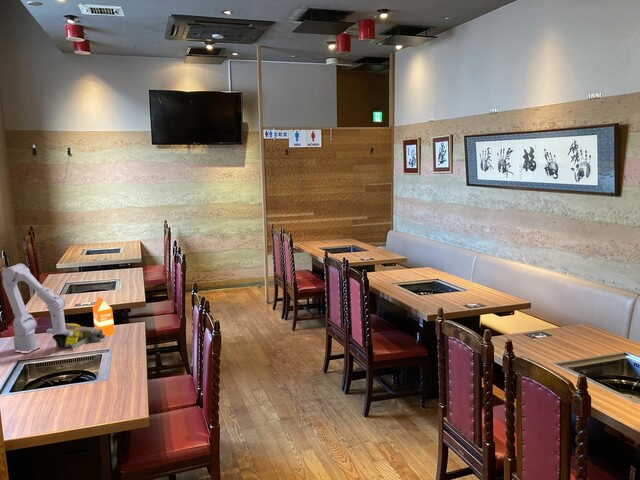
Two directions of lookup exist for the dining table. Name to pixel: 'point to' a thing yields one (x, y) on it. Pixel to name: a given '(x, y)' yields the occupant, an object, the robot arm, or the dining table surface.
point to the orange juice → (103, 317)
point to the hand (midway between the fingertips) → (61, 347)
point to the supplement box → (74, 338)
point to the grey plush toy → (88, 336)
